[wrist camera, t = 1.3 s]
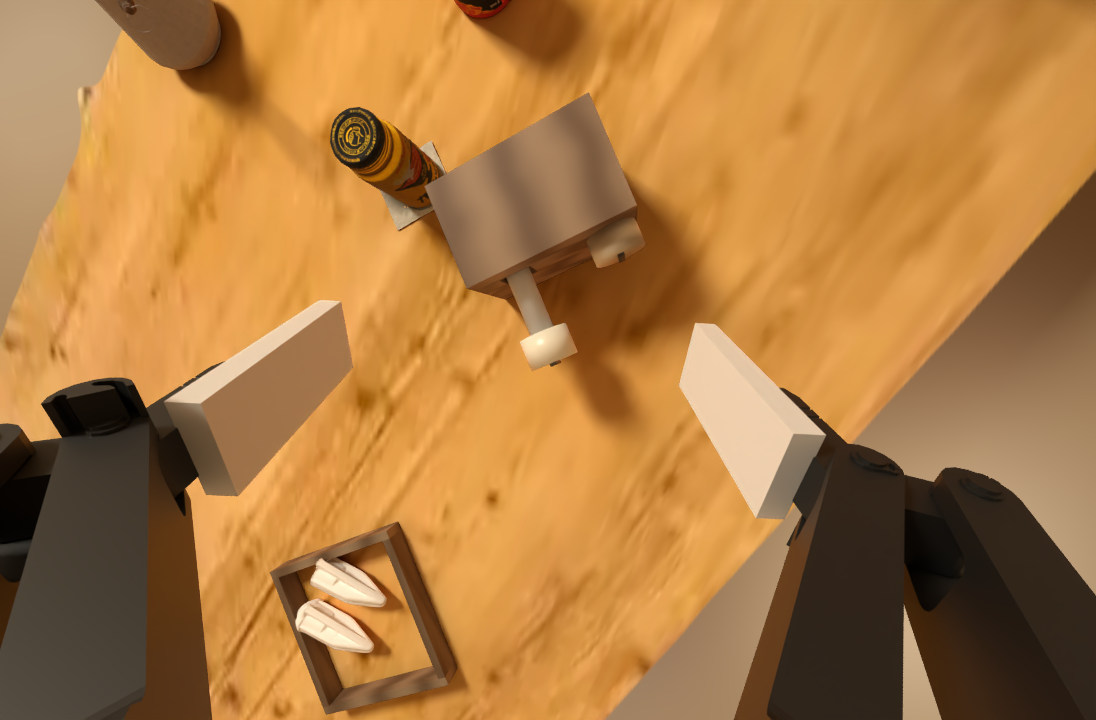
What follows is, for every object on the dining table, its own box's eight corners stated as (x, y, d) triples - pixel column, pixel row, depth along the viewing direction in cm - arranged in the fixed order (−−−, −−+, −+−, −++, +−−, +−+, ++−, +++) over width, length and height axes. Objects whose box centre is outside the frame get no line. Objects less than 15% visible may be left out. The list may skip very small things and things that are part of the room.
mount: (599, 153, 43) (588, 92, 32) (645, 260, 42) (650, 235, 32) (472, 220, 46) (424, 186, 35) (514, 320, 46) (478, 316, 35)
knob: (523, 215, 40) (509, 199, 36) (582, 353, 40) (575, 356, 35) (483, 236, 41) (464, 223, 37) (539, 371, 41) (527, 376, 36)
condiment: (456, 196, 46) (397, 150, 35) (398, 231, 48) (324, 197, 37) (432, 141, 47) (365, 76, 35) (375, 177, 48) (293, 127, 37)
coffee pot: (151, 49, 54) (-27, -56, 40) (191, -28, 52) (18, -170, 37) (252, 143, 52) (102, 68, 37) (298, 66, 50) (159, -46, 35)
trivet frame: (398, 521, 51) (386, 530, 48) (457, 668, 50) (448, 685, 48) (286, 561, 55) (269, 572, 52) (339, 697, 54) (326, 714, 52)
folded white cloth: (307, 613, 55) (371, 659, 53) (281, 636, 51) (350, 686, 49) (339, 543, 53) (407, 589, 52) (315, 561, 49) (388, 611, 47)
